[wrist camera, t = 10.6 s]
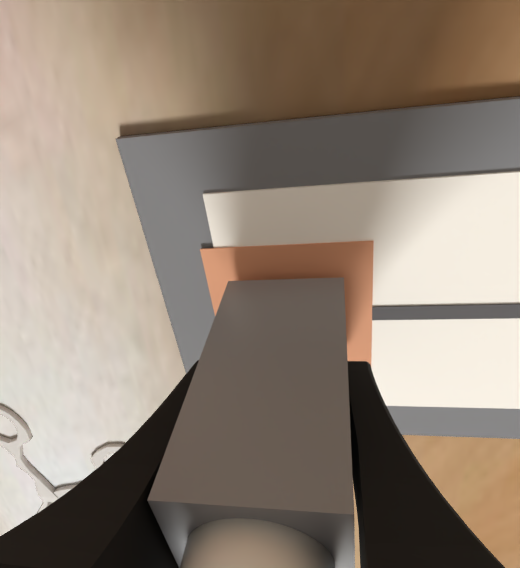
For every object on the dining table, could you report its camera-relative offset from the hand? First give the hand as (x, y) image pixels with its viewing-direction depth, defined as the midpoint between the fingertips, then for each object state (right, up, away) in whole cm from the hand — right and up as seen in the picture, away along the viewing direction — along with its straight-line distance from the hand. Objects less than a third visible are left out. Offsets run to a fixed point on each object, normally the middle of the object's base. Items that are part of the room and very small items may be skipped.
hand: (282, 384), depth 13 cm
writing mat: (+6, +2, +2) cm, 7 cm away
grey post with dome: (0, +2, +2) cm, 3 cm away
